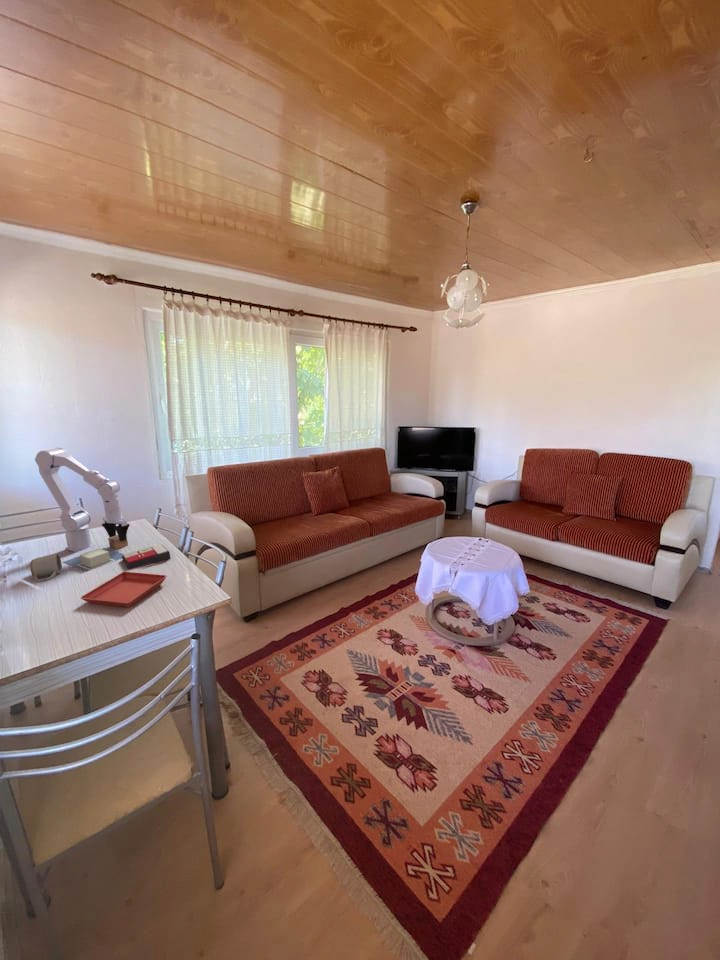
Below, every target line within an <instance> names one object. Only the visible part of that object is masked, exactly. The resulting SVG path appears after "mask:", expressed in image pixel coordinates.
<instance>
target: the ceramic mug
mask: <svg viewBox="0 0 720 960" xmlns="http://www.w3.org/2000/svg"><path fill="white" fill-rule="evenodd" d="M62 563H63V562H62V559H61V557H60V555H59V553H58V552H57V553H52V554H47V555H44V556H40V557H36V558H34V559H32V560H31V561H30V563H29V569H30V574H31V575H32V577H34V579H35V581H36V582H40V583H41V582H45V581H49V580H52V579H54V578H55V577H56V575H59V574H61V572H60V571H62V570H63V564H62ZM47 576H48V577H47ZM43 577H47V578H43ZM41 578H42V579H41Z"/></svg>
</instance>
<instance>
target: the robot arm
mask: <svg viewBox="0 0 720 960" xmlns="http://www.w3.org/2000/svg"><path fill="white" fill-rule="evenodd" d="M35 455H36V456H35V458H34V461H35V463H36V465H37V466H38V472H39V474H40V476H41V478H42V479H43V481H44V483H45V485H46V486H47V488H48V490H49V492H50V493H51V495H52V496H53V498H54V499H55V502H56V503H57V506H59V508H60V510H61V514H60V516H59V519H60V520H61V526H62V529H63V530H65V531H66V532H65V540H66V545H67V547H65V550H68V551H70V552H73V553H77V552H81V551H84V550H88V549H90V548H94V547H96V544H93V543H92V539H91V534H90V529H89V526H90V522H91V521H92V517H91V515H90V514H89V513H88V512H87V511H86V510H85V509H84V507H82V506H80V505H78V504H77V503H76V501H75V499H74V498H73V497H72V495H71V493H70V491H69V489H68V488H67V486H66V484H65V482H64V481H63V479H62V477H61V476H60V474H59V470H60V468H61V467H66V468H68V469H69V470H71V471H73V472H75V473H76V474H78V475H80V476H82V479H83V481H84V482H85V483H87V484H88V485H90V486H91V487H93V488H94V489H96V490H97V493H98V495H99V496H100V497H101V500H102V502H103V507H104V514H105V516H103V517H102V521H103V523H101V527H102V528H104V530H105V531H106V533H107V535H108V538H110V537H113V536H116V535H118V537H119V540H120V541H121V542H122V541H125V540H126V536H127V533H128V529H129V527H130V524H129V523H128V522H127V520H125V519H126V517H125V516H123V514H122V509H121V503H120V496H119V492H120V490H121V485H120V483H118V482H117V481H116V480H114V479H110V478H108V477H105V476H104V475H102V474H100V471H98V470H95V469H92V470H89V469H88V468H87V467H86V466H84V465H83V464H82V463H80V461H78V460H77V459H75V457H73V456H72V455H71V452H68V451H67V450H66V449H64V448H62V447H55V448H53V449H48V450H40V451H38V452H37V453H36V454H35Z"/></svg>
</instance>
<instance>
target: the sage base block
mask: <svg viewBox="0 0 720 960" xmlns="http://www.w3.org/2000/svg"><path fill="white" fill-rule="evenodd" d="M79 556H80V558H81V563H82V565H85V566H87V567H90V568H93V567H96V566H98V565H101V564H104V563H106V562H109V561H110V556H109V552H108V551H105V550H102V548H96V549H94V550H90V551H88V552H84V553H81V554H79Z"/></svg>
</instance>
